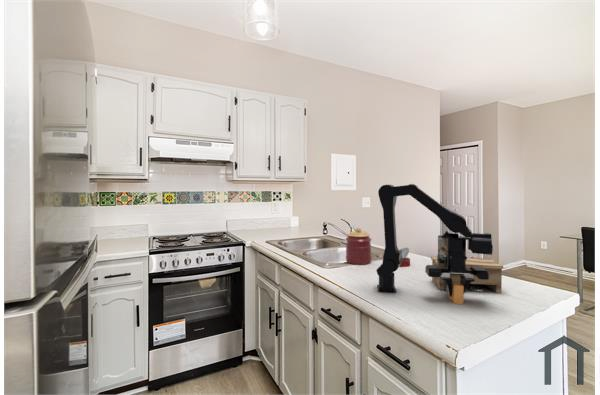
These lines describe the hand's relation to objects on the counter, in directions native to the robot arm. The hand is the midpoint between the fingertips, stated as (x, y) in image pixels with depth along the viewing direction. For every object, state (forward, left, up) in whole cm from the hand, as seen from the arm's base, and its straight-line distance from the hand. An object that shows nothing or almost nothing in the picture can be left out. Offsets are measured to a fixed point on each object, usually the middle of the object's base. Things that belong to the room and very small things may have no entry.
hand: (455, 296), depth 103 cm
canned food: (+45, +12, -2) cm, 47 cm away
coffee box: (+35, -8, -1) cm, 36 cm away
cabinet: (+15, -8, -1) cm, 17 cm away
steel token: (+12, -11, -2) cm, 17 cm away
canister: (+47, +32, -1) cm, 57 cm away
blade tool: (+6, -3, -1) cm, 7 cm away
